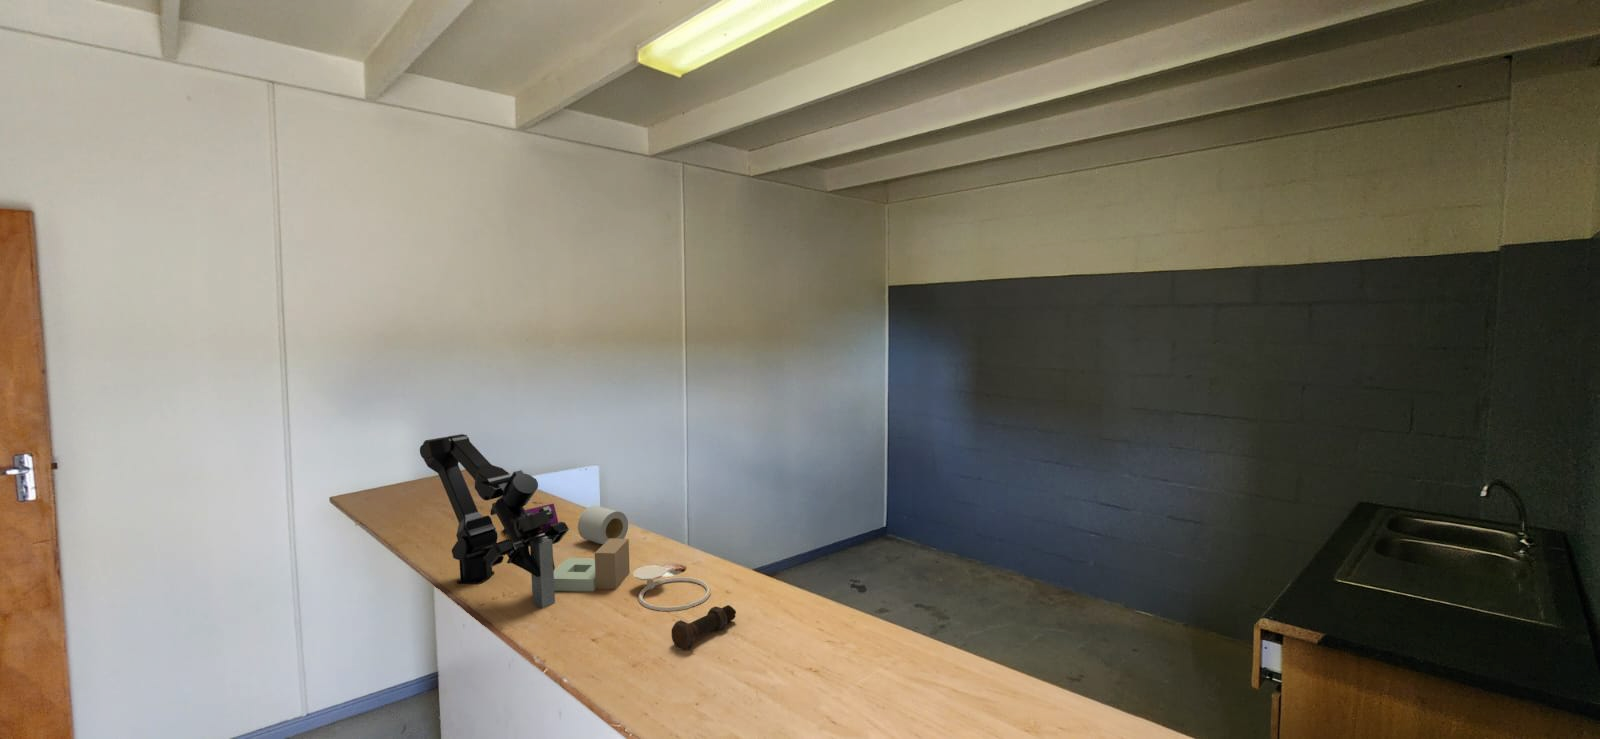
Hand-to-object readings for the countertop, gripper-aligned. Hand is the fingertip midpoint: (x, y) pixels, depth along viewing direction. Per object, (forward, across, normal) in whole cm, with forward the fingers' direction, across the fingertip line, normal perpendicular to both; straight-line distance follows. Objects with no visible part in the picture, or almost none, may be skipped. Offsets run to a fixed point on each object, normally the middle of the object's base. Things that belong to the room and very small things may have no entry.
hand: (546, 573), depth 148 cm
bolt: (+34, +9, -23) cm, 42 cm away
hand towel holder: (+20, +19, -8) cm, 29 cm away
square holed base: (+3, +14, +7) cm, 17 cm away
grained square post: (+4, 0, +6) cm, 8 cm away
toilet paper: (-9, +35, +20) cm, 42 cm away
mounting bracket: (-28, +29, +39) cm, 56 cm away
